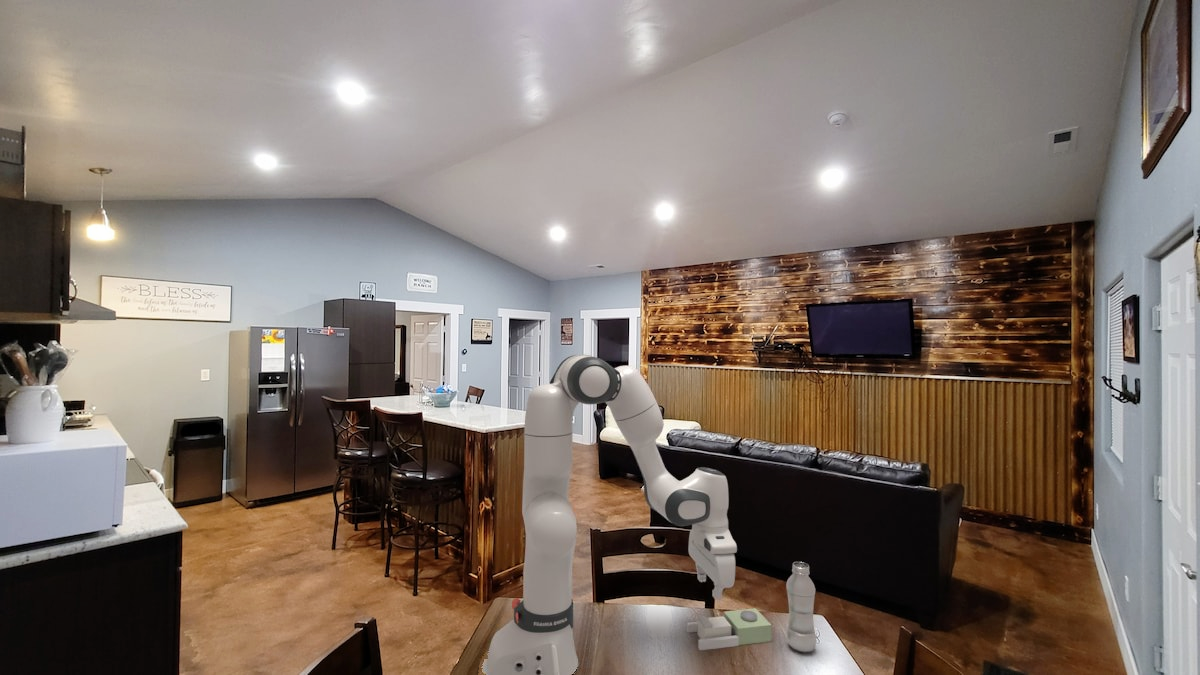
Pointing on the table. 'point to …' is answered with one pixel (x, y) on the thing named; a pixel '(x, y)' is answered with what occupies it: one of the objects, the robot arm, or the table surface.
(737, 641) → the pale green forked block
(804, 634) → the plastic bottle
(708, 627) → the white stepped block
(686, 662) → the table surface
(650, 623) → the table surface
